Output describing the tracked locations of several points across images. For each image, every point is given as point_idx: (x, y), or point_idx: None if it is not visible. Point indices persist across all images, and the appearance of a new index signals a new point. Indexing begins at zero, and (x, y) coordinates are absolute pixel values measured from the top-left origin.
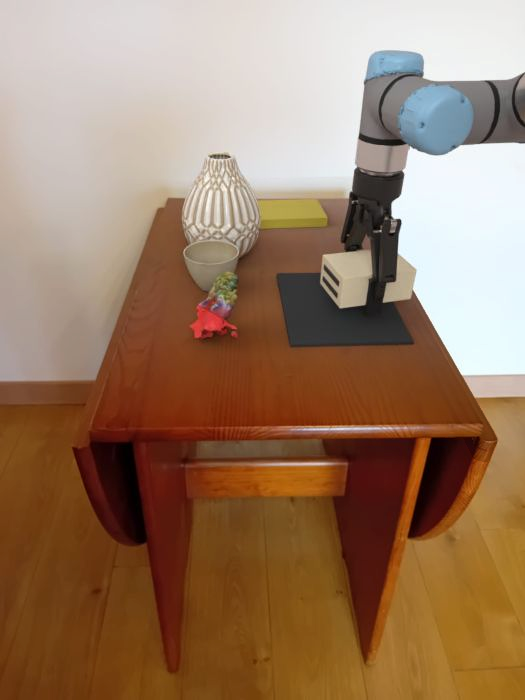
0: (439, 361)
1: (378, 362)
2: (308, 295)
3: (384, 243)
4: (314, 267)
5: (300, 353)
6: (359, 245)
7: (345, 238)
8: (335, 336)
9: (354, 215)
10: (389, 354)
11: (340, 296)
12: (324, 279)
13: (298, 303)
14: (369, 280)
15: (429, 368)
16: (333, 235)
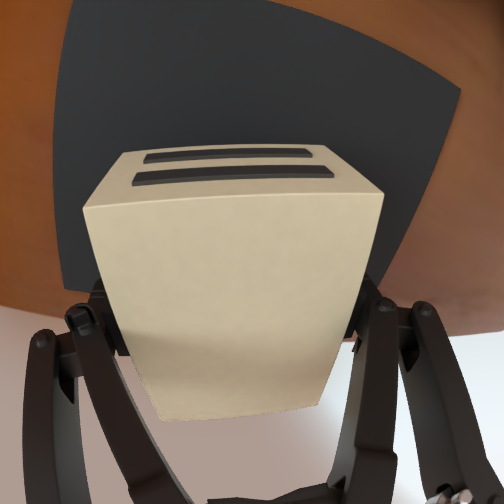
0: (24, 301)
1: (3, 195)
2: (332, 108)
3: (26, 486)
4: (449, 196)
5: (48, 12)
6: (355, 354)
7: (415, 328)
8: (82, 114)
9: (436, 439)
10: (29, 226)
11: (115, 167)
12: (290, 151)
13: (295, 58)
14: (87, 307)
15: (3, 278)
16: (497, 276)
